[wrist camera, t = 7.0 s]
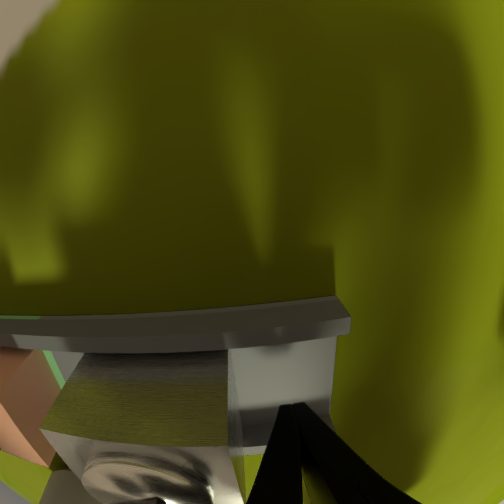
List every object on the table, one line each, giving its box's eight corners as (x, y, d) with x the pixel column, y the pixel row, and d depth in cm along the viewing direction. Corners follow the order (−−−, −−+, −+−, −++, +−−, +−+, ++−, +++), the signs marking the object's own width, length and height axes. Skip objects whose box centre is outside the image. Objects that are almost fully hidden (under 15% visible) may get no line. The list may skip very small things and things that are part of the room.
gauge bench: (336, 295, 10) (431, 440, 4) (326, 417, 12) (365, 537, 6) (-44, 313, 9) (-115, 376, 3) (2, 406, 11) (-42, 476, 5)
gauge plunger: (228, 337, 10) (228, 475, 5) (241, 423, 11) (248, 534, 6) (91, 342, 9) (27, 448, 4) (127, 423, 11) (99, 521, 6)
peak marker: (39, 343, 10) (-4, 396, 6) (74, 413, 11) (49, 467, 7) (-4, 339, 9) (-45, 382, 6) (30, 405, 11) (3, 451, 7)
